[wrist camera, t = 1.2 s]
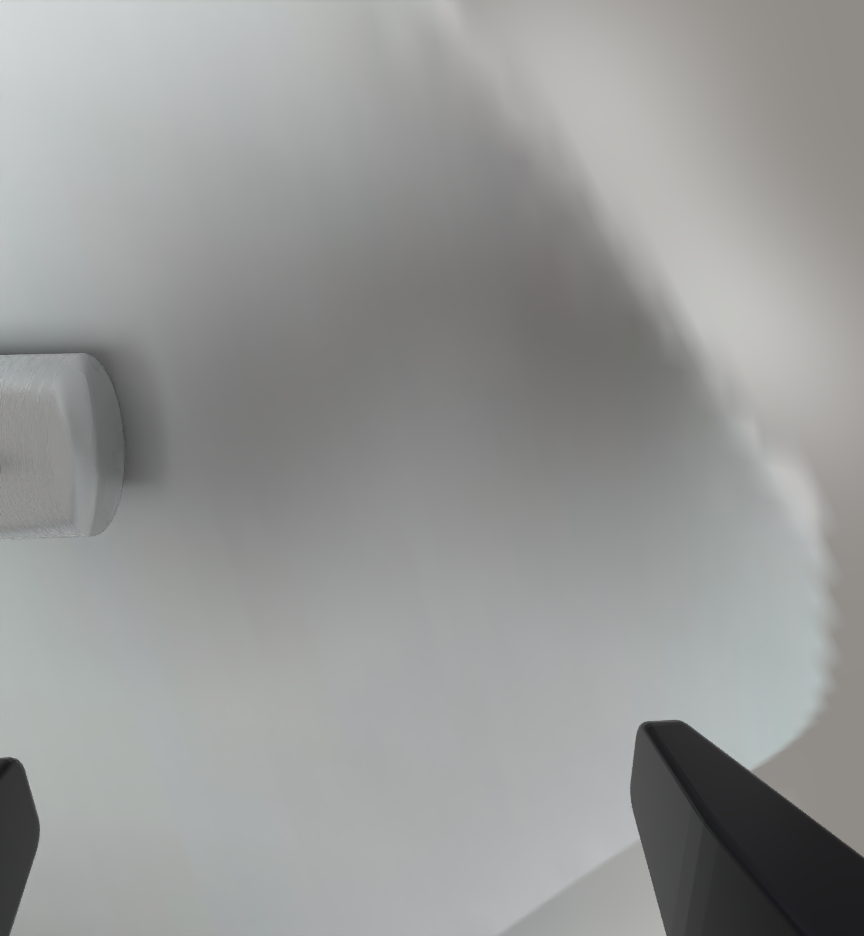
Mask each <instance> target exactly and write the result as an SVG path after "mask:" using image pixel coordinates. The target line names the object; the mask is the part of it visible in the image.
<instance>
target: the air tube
mask: <svg viewBox="0 0 864 936" xmlns="http://www.w3.org/2000/svg"><path fill="white" fill-rule="evenodd" d="M124 467H125V444H124V431H123V423H122V417H121V412H120V407H119V403H118V399H117V396H116V393H115V390H114V387H113V385H112V382H111V380H110V378H109V376H108V374H107V372H106V370H105V369H104V367H103V366H102V365H101V363H100V362H99V361H98V360H97V359H96V358H94V357H93V356H91V355H89V354H86V353H67V354H25V355H0V540H1V539H27V538H53V537H79V536H96V535H98V534H100V533H102V532H103V531H104V530H105V529H106V528H107V527H108V526H109V524H110V522H111V521H112V519H113V517H114V515H115V512H116V510H117V507H118V504H119V500H120V496H121V491H122V486H123V479H124Z"/></svg>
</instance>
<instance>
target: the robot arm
mask: <svg viewBox="0 0 864 936" xmlns="http://www.w3.org/2000/svg"><path fill="white" fill-rule="evenodd" d="M630 795H631V803H632V809H633V813H634V817H635V820H636V824H637V828H638V831H639V835H640V839H641V843H642V846H643V850H644V853H645V857H646V861H647V865H648V869H649V872H650V876H651V879H652V883H653V887H654V891H655V895H656V898H657V902H658V906H659V909H660V913H661V917H662V920H663V924H664V927H665V932H666V935H667V936H864V857H863V856H861V855H860V854H859V853H857V852H856V851H855V850H853V849H852V848H851V847H849V846H848V845H847V844H845V843H844V842H842V841H841V840H840V839H839V838H837V837H836V836H835V835H833V834H832V833H831V832H829V831H828V830H827V829H826V828H824V827H823V826H822V825H820V824H819V823H818V822H816V821H815V820H814V819H812V818H811V817H810V816H808V815H807V814H806V813H804V812H803V811H801V810H800V809H799V808H798V807H796V806H795V805H794V804H792V803H791V802H790V801H788V800H787V799H786V798H784V797H783V796H782V795H780V794H779V793H778V792H777V791H775V790H774V789H772V788H771V787H770V786H769V785H767V784H766V783H765V782H763V781H762V780H761V779H759V778H758V777H757V776H755V775H754V774H753V773H751V772H750V771H749V770H747V769H746V768H745V767H744V766H742V765H741V764H740V763H738V762H737V761H736V760H734V759H733V758H732V757H730V756H729V755H728V754H726V753H725V752H724V751H722V750H721V749H720V748H718V747H717V746H716V745H714V744H713V743H712V742H710V741H709V740H708V739H706V738H705V737H704V736H702V735H701V734H700V733H699V732H697V731H696V730H695V729H693V728H692V727H691V726H689V725H688V724H686V723H684V722H682V721H680V720H663V721H647V722H644V723H642V724H641V725H640V726H639V728H638V730H637V734H636V741H635V750H634V758H633V767H632V775H631V784H630ZM39 834H40V825H39V818H38V815H37V811H36V808H35V804H34V801H33V797H32V793H31V790H30V786H29V783H28V779H27V776H26V772H25V769H24V767H23V765H22V763H21V762H20V761H19V760H18V759H15V758H12V757H5V758H0V936H10V932H11V929H12V926H13V923H14V920H15V917H16V914H17V911H18V907H19V904H20V901H21V898H22V895H23V892H24V889H25V885H26V882H27V879H28V876H29V873H30V870H31V867H32V864H33V860H34V857H35V854H36V851H37V847H38V842H39Z"/></svg>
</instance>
